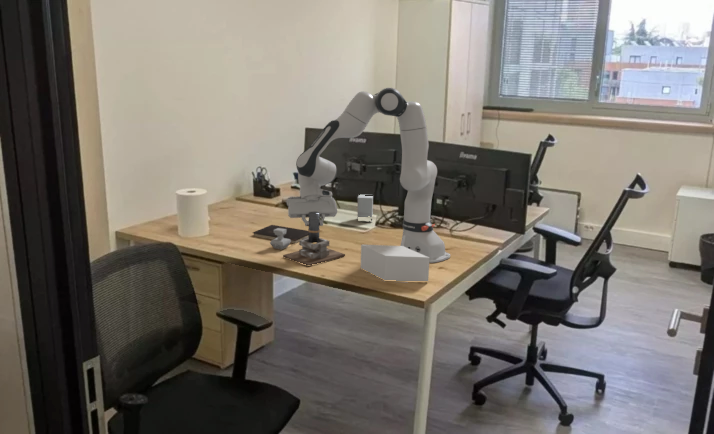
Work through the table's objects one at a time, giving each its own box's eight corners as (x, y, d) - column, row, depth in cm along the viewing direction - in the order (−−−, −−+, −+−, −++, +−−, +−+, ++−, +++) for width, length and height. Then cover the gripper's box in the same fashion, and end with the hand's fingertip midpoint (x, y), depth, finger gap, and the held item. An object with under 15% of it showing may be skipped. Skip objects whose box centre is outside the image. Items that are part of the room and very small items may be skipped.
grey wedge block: (420, 289, 241) (421, 262, 238) (351, 274, 254) (351, 249, 252) (435, 277, 253) (437, 252, 250) (369, 264, 266) (370, 239, 264)
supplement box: (372, 219, 334) (373, 194, 331) (371, 222, 327) (372, 198, 323) (358, 218, 335) (358, 194, 331) (356, 222, 327) (357, 197, 324)
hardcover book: (295, 245, 291) (295, 240, 290) (252, 237, 301) (252, 232, 300) (314, 236, 304) (314, 231, 304) (272, 229, 314) (272, 224, 314)
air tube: (321, 240, 273) (321, 212, 270) (316, 243, 269) (317, 214, 266) (310, 238, 275) (311, 210, 272) (306, 241, 271) (306, 213, 267)
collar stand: (345, 256, 275) (345, 240, 273) (308, 266, 261) (308, 250, 259) (319, 247, 286) (319, 232, 284) (283, 257, 272) (283, 241, 270)
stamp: (281, 252, 279) (281, 233, 277) (268, 249, 281) (268, 230, 279) (292, 246, 287) (292, 227, 285) (279, 244, 289) (279, 225, 287)
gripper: (286, 193, 271) (289, 222, 264) (335, 191, 276) (339, 220, 269) (285, 200, 276) (288, 229, 270) (333, 199, 281) (337, 228, 274)
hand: (314, 225), depth 269 cm, fingers closed on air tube, 4 cm apart
